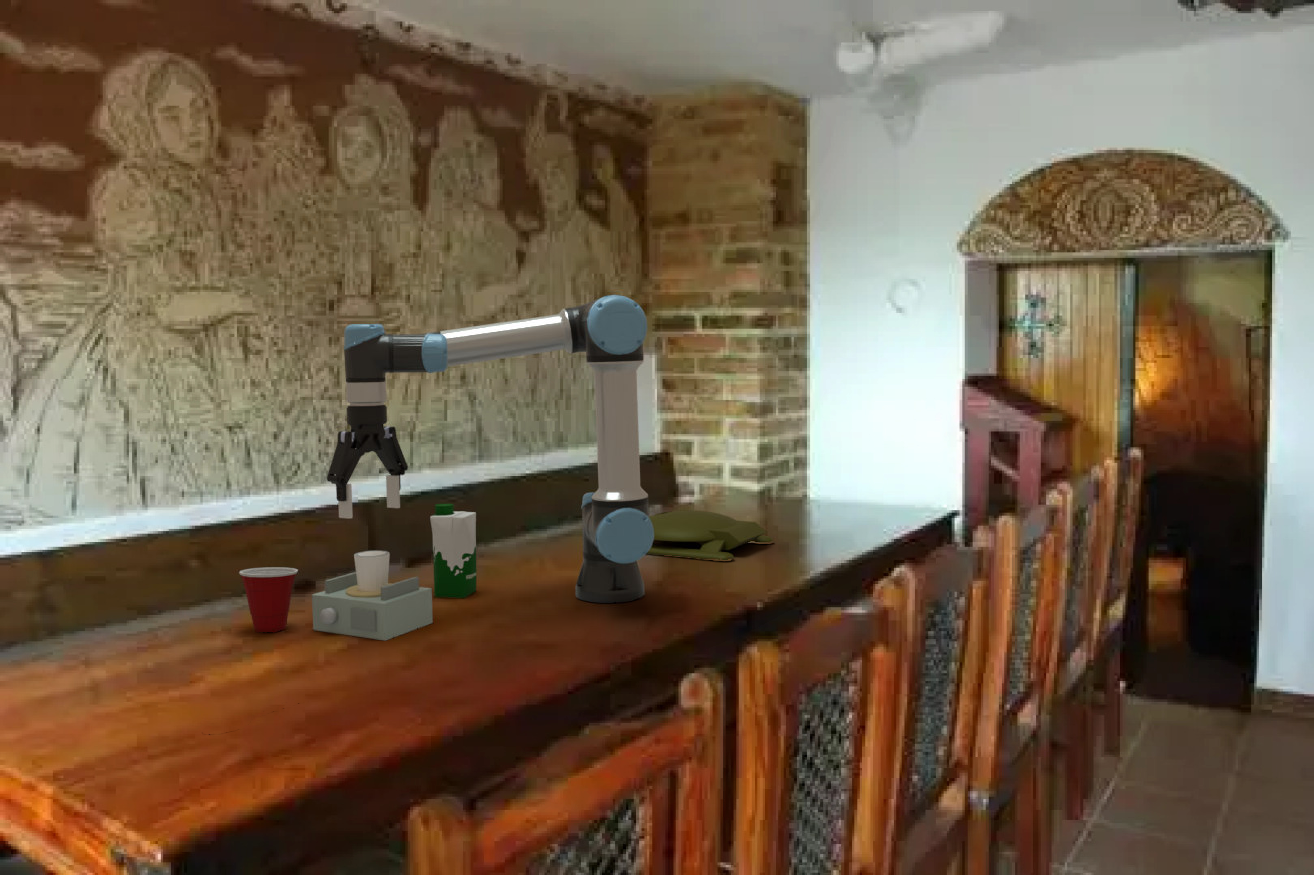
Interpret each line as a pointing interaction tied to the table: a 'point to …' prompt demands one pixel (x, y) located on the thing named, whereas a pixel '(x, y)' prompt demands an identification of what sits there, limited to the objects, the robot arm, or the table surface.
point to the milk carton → (454, 551)
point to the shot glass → (372, 570)
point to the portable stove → (371, 608)
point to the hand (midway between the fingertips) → (370, 512)
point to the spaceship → (703, 533)
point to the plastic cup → (269, 596)
